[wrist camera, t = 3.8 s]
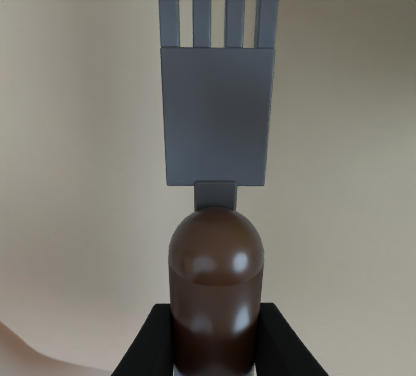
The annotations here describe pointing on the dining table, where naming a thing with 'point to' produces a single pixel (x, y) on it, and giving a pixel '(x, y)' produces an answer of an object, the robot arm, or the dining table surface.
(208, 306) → the fork
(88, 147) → the dining table surface
